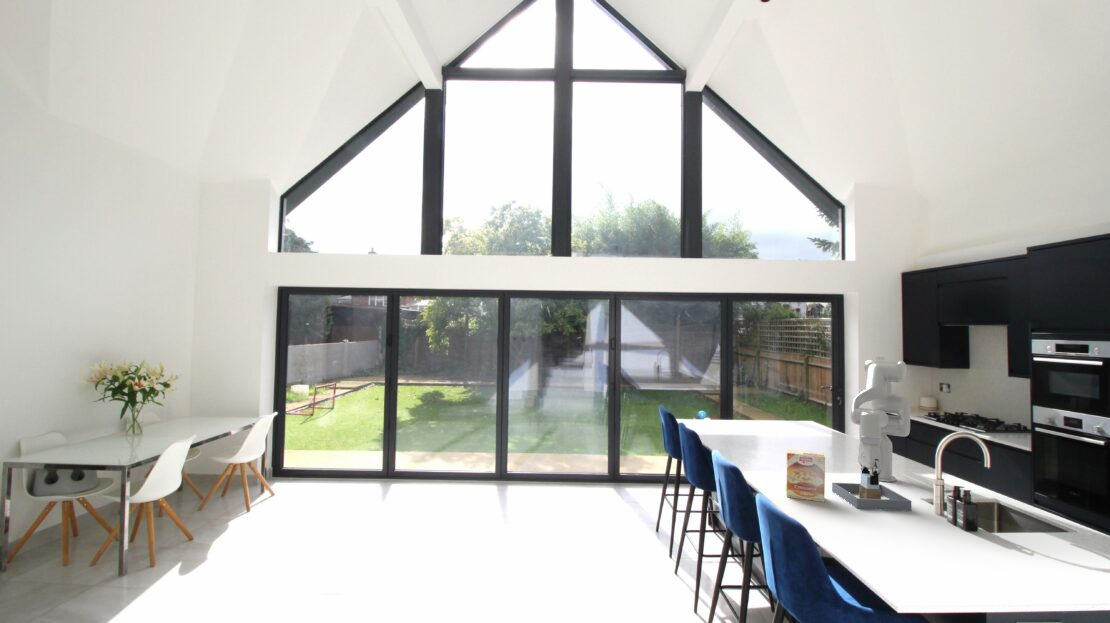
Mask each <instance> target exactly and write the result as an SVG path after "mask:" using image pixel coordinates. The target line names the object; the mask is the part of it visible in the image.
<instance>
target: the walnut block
mask: <svg viewBox="0 0 1110 623" xmlns="http://www.w3.org/2000/svg"><path fill="white" fill-rule="evenodd" d="M858 484H859V493H858V498H863V499H882V494H881V489H880V488H879V489H867V488H865V487H863V486H862V485H861V483H858Z"/></svg>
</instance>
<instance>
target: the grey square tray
mask: <svg viewBox="0 0 1110 623" xmlns="http://www.w3.org/2000/svg"><path fill="white" fill-rule="evenodd" d="M859 484H860V483H857V482H856V483H854V482H853V483H851V482H832V484H831V491H833V492H832V493H834V494H835V493H836V494H835V495H836V496H838V495H839V496H838V497H840V498H841V497H842V498H843V500H844V499H845V500H846V501H845V500H844V501H845V502H847V503H848V502H849V505H851V504H852V505H851V506H853V507H854V508H855V509H858V510H859V509H861V510H879V509H881V510H880V511H903V510H906V511H908V512H911V511H912V500H911V499H908V498H907V497H905V496H903V495H901V494H899V493H897V492H896V491H894V490H892V489H891V488H889V487H887V486H885V485H883V484H881V483H879V488H880V489H881V496H883V497H884V498H887V499H883V498H881V499H863V498H859V497H857V496H856V495H854V494H859ZM849 492H855V493H854V494H853V493H849ZM842 498H841V499H842ZM888 498H889V499H888ZM906 511H905V512H906Z"/></svg>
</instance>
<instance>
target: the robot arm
mask: <svg viewBox="0 0 1110 623" xmlns="http://www.w3.org/2000/svg"><path fill="white" fill-rule="evenodd" d="M863 366H864V370H865V373H866V377H865V387H864V389H863V390H861V391H860V392H859V393H857V395H856V396H854V398H853V400H852V402H851V407H850V420H851V422H852V423H853V424H855V425H858V426H860V427H859V428H860V429H859V432H860V433H859V434H860V435H859V436H860V437H859V438H860V439H859V440H860V441H859V446H858V453H857V455H858V457H857V458H858V459H857V460H858V461H857V462H858V464H859V465H860V470H861V474H871V475H870V484H871V485H878V484H880V482H888V483H892V482H895V481H897V477H896V476H894V475H893V442H892V440H891V439H890V438H889V437H888V436H895V437H896V436H897V437H908V436H909V434H910V433H911V432H910V431H911V404H910V403H911V402H910V400H909V399H910V398H909V397H908V396H907V395H905V394H900V393H899V394H898V393H893V392H892V390H893V389H892V387H893V386H892V385H893V384H892V382H893V383H901V382H903V381H904V379H905V378H906V376H907V371H908V370H907V367H908V366H907V364H906V362H904V361H903V360H897V359H894V360H892V359H879V358H878V359H876V358H873V359H867V360H865V361H864V365H863ZM868 402H871V407H872V408H864V407H863V408H860V406H862V405H863V404H865V403H868ZM887 413H888V414H887ZM890 414H896V415H890ZM887 435H888V436H887Z"/></svg>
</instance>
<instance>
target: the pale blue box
mask: <svg viewBox="0 0 1110 623" xmlns="http://www.w3.org/2000/svg"><path fill="white" fill-rule="evenodd" d="M870 475H871V474H862V473H860V484H861V485H862V486H863V487H865V488H867V489H879V484H880V483H879V484H878V485H871V484H870Z"/></svg>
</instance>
